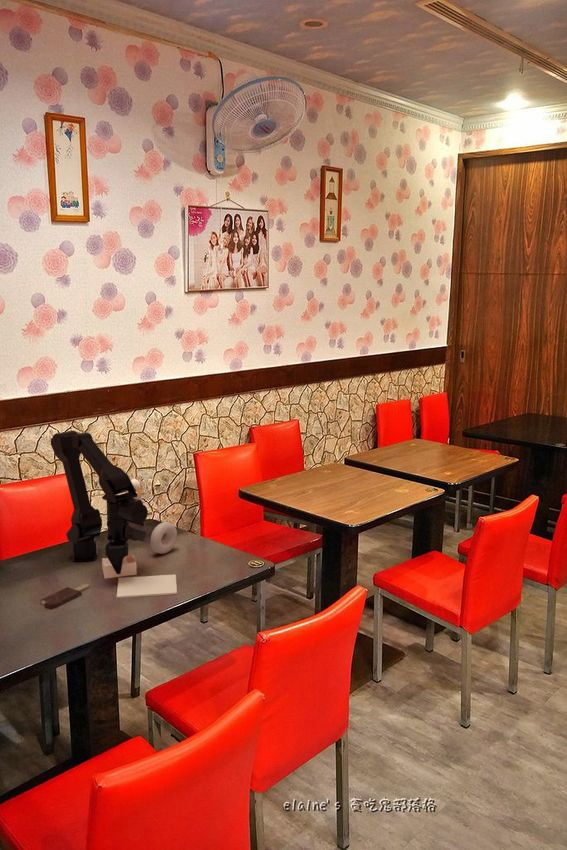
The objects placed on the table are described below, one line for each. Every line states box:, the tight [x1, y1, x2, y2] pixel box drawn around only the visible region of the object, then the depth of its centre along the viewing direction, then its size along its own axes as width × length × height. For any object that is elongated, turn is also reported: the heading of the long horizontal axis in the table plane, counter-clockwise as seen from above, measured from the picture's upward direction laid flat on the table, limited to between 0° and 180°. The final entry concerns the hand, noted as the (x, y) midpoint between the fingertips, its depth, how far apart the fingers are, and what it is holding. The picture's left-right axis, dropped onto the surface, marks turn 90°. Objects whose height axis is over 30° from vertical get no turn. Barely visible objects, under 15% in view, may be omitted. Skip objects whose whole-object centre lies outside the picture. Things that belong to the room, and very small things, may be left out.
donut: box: [149, 521, 178, 555], centre depth 220 cm, size 10×4×10 cm, turn 143°
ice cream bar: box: [40, 583, 90, 610], centre depth 190 cm, size 5×2×15 cm
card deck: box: [101, 554, 137, 580], centre depth 206 cm, size 9×6×4 cm, turn 110°
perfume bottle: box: [125, 478, 144, 505], centre depth 231 cm, size 6×6×20 cm
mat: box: [116, 574, 178, 599], centre depth 197 cm, size 16×12×1 cm
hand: (119, 567), depth 206 cm, fingers open, 9 cm apart
